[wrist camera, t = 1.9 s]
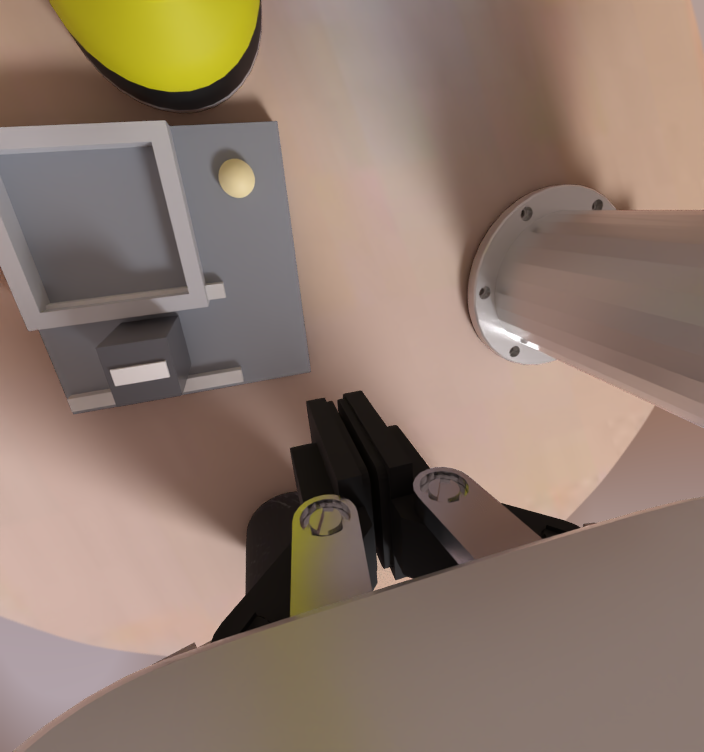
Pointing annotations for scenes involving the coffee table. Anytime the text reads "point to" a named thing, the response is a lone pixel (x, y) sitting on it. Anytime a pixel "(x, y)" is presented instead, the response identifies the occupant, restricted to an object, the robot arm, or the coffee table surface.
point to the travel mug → (269, 535)
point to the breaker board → (153, 246)
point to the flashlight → (168, 47)
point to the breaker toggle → (145, 360)
